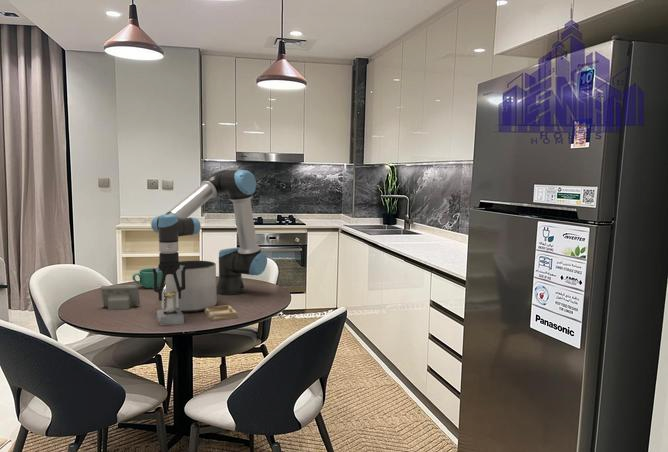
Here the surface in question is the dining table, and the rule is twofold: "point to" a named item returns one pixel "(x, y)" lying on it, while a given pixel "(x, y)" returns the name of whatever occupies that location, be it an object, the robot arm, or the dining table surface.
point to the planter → (195, 286)
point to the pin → (170, 302)
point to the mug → (148, 278)
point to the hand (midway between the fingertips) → (170, 307)
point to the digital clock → (120, 296)
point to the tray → (220, 312)
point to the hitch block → (170, 317)
